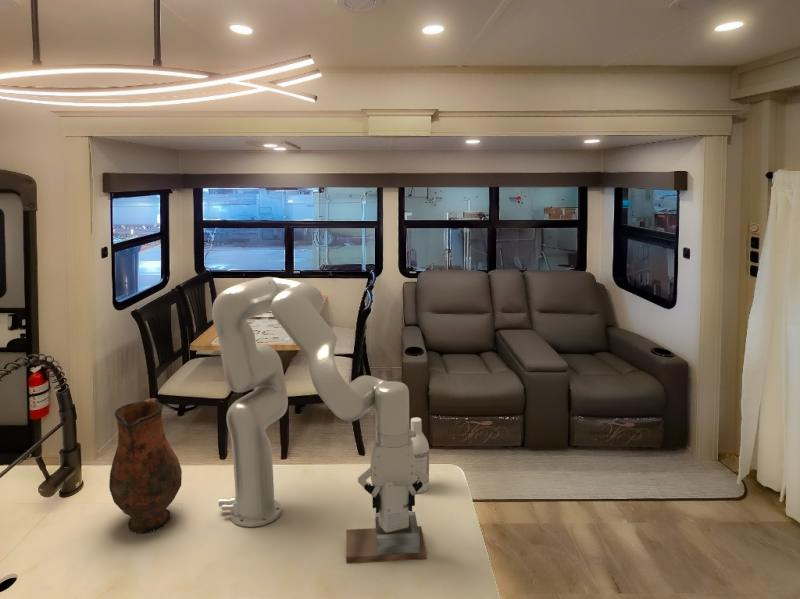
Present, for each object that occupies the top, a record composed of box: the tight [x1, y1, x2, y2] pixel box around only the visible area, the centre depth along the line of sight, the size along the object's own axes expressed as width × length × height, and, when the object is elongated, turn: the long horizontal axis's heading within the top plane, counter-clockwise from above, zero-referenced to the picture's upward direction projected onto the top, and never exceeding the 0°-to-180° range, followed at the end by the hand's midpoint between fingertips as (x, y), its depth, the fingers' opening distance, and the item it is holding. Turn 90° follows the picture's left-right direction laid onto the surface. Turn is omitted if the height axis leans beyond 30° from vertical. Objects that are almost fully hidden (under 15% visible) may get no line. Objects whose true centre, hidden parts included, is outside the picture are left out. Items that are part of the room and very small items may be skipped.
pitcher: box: [108, 397, 183, 534], centre depth 159 cm, size 17×21×30 cm
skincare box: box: [378, 482, 410, 533], centre depth 147 cm, size 6×4×12 cm
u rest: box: [345, 511, 427, 564], centre depth 148 cm, size 18×11×6 cm, turn 94°
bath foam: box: [410, 416, 430, 494], centre depth 174 cm, size 7×7×20 cm
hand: (393, 508), depth 147 cm, fingers closed on skincare box, 7 cm apart
